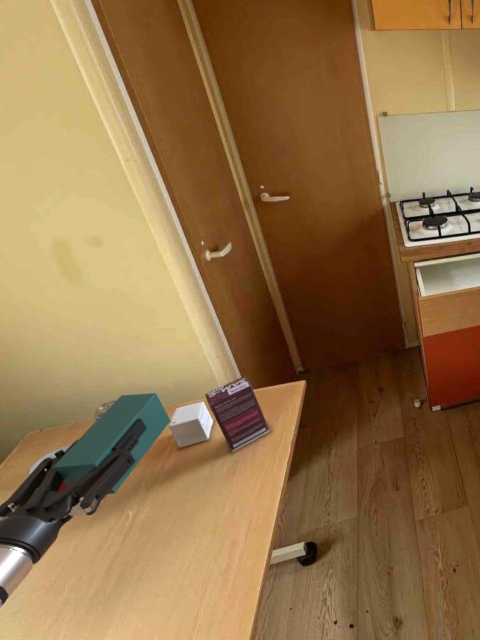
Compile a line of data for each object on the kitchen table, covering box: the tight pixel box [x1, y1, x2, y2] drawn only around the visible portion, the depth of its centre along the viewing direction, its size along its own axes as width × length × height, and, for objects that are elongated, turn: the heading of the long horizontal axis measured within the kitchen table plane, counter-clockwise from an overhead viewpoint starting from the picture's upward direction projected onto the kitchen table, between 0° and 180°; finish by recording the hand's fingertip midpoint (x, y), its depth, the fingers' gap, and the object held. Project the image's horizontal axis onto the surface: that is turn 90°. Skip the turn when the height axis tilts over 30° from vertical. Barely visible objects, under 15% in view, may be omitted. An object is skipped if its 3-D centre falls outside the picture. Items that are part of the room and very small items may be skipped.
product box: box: [168, 401, 214, 448], centre depth 102 cm, size 6×6×7 cm
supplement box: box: [204, 375, 270, 453], centre depth 100 cm, size 9×5×16 cm, turn 135°
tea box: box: [53, 392, 171, 496], centre depth 79 cm, size 6×16×8 cm, turn 6°
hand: (121, 425), depth 80 cm, fingers closed on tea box, 6 cm apart
